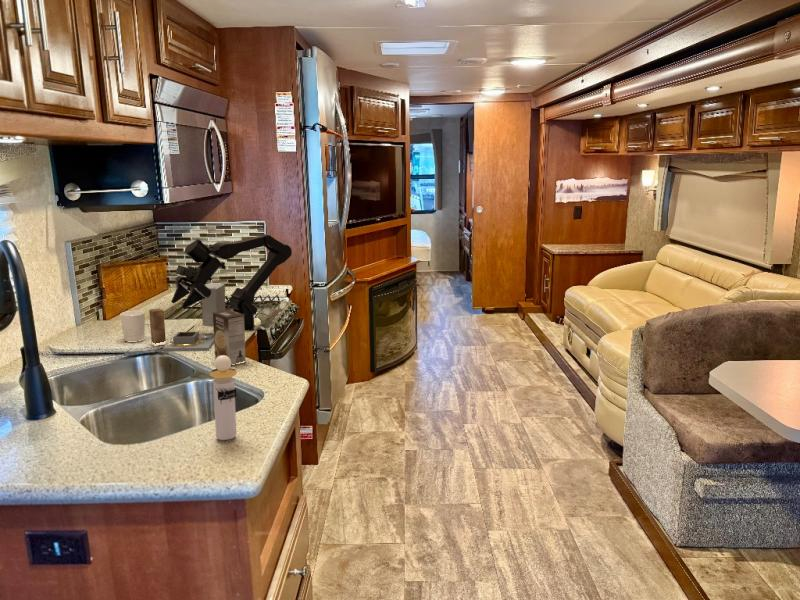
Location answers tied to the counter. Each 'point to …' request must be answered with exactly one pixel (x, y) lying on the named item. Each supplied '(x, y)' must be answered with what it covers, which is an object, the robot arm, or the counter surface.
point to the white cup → (133, 325)
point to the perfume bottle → (224, 398)
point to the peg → (157, 325)
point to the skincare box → (213, 303)
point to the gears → (189, 339)
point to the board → (200, 347)
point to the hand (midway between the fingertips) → (177, 304)
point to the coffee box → (229, 335)
